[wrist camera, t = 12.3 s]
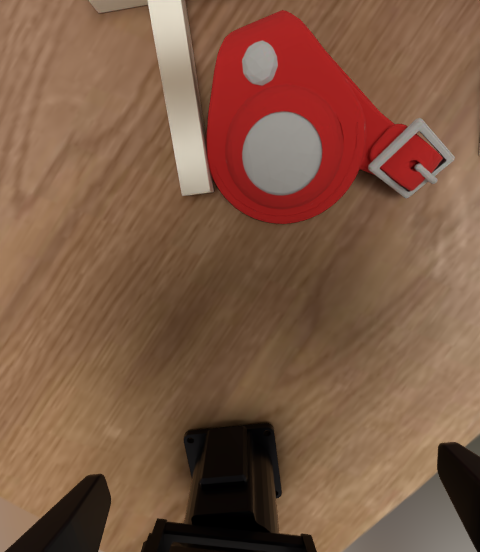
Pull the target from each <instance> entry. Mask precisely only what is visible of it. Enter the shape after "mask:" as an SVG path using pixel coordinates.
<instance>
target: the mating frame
mask: <svg viewBox="0 0 480 552" xmlns="http://www.w3.org/2000/svg"><path fill="white" fill-rule="evenodd" d="M88 1H89V2H90V3H91V4H92V5H93V7H94V8H95V9H96V10H97V12H98V13H104V12H110V11H115V10H121V9H127V8H133V7H138V6H144V5H148V6H149V12H150V17H151V23H152V29H153V34H154V40H155V46H156V51H157V57H158V63H159V68H160V74H161V80H162V85H163V91H164V97H165V102H166V108H167V114H168V119H169V125H170V131H171V136H172V142H173V148H174V153H175V159H176V165H177V170H178V176H179V182H180V187H181V193H182V196H187V195H195V194H203V193H210V192H214V188H213V181H212V175H211V172H210V169H209V165H208V159H207V141H206V135H205V128H204V121H203V114H202V108H201V101H200V94H199V88H198V81H197V74H196V68H195V61H194V54H193V48H192V41H191V34H190V27H189V21H188V14H187V7H186V1H185V0H88ZM479 155H480V145H479Z"/></svg>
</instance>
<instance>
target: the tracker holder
mask: <svg viewBox="0 0 480 552" xmlns="http://www.w3.org/2000/svg"><path fill="white" fill-rule="evenodd" d="M418 131H420V132H421V133H422V134H423V135H424V137H425V138H426V139H427V140H428V141H429V142H430V143H431V144H432V145H433V146H434V148H435V149H436V150H437V151H438V152H439V153H440V154H441V155H440V154H439V153H438V152H437V151H436V150H435V149H433V148H432V147H431V146H430V145H429V144H428V143H427V142H425V141H424V140H423V139H422V138H421V137H419V136H418V135H417V134H416V133H417V132H418ZM207 159H208V165H209V169H210V172H211V175H212V178H213V180H214V182H215V183H216V185H217V187H218V188H219V190H220V192H221V193H222V194H223V196H224V197H225V198H226V199H227V200H228V201H229V202H230V203H231V204H232V205H233V206H234V207H235V208H237V209H238V210H240V211H241V212H243V213H244V214H246V215H248V216H250V217H252V218H254V219H257V220H261V221H265V222H269V223H277V224H287V223H295V222H300V221H303V220H307V219H309V218H312V217H314V216H316V215H319V214H320V213H322V212H324V211H325V210H327V209H328V208H329V207H331V206H332V205H333V204H335V203H336V202H337V201H338V200H339V199H340V198H341V197H342V196H343V195H344V194H345V192H346V191H347V190H348V189H349V187H350V186H351V184H352V183H353V181H354V179H355V177H356V175H357V173H358V171H359V170H363V171H366V172H368V173H371V174H373V175H376V176H377V177H379V178H380V179H381V180H383V181H384V182H385V183H386V184H388V185H389V186H390V187H392V188H393V189H394V190H395V191H397V192H398V193H399V194H401V195H402V196H403V197H404V198H409V197H410V196H411V195H412V194H414V193H415V192H416V191H417V190H418V189H420V188H421V187H422V186H423V185H424V184H426V183H427V182H428V181H429V182H430V183H431V184H434V183H436V182H437V178H436V177H435V175H437V174H438V173H439V172H440V171H441V170H443V169H444V168H445V167H446V166H448V165H449V164H450V163H451V162H452V161H454V159H455V157H454V156H453V154H452V153H451V152H450V151H449V150H448V149H447V147H446V146H445V145H444V144H443V143H442V142H441V140H440V139H439V138H438V137H437V136H436V135H435V133H434V132H433V131H432V130H431V129H430V128H429V126H428V125H427V124H426V123H425V122H424V121H423V120H422V119H421V118H418V119H415V120H414V121H413V122H412V123H411V124H410V125H409V126H408V127H407V126H406V125H403V124H394V123H392V122H391V121H390V120H389V119H388V118H386V117H385V116H384V115H383V114H382V113H380V111H379V110H378V109H377V108H376V107H375V106H374V105H373V104H372V102H371V101H370V100H369V99H368V98H367V97H366V96H365V95H364V93H363V92H362V91H361V90H360V89H359V88H358V87H357V86H356V84H355V83H354V82H353V81H352V80H351V79H350V78H349V77H348V76H347V74H346V73H345V72H344V71H343V70H342V69H341V68H340V67H339V65H338V64H337V63H336V62H335V61H334V60H333V59H332V58H331V56H330V55H329V54H328V53H327V52H326V51H325V49H324V48H323V47H322V46H321V44H320V43H319V42H318V40H317V39H316V38H315V36H314V35H313V34H312V32H311V31H310V30H309V29H308V28H307V27H306V25H305V24H304V23H303V22H302V21H301V20H300V19H299V18H297V17H295V16H294V15H293V14H291V13H289V12H287V11H284V10H281V11H279V12H277V13H274V14H272V15H270V16H267V17H265V18H263V19H260V20H258V21H256V22H253V23H251V24H248V25H246V26H244V27H241V28H239V29H237V30H235V31H233V32H231V33H230V34H229V35H227V36H226V37H225V39H224V41H223V43H222V45H221V47H220V49H219V52H218V56H217V60H216V65H215V70H214V77H213V84H212V91H211V98H210V105H209V112H208V125H207ZM403 186H404V187H403Z"/></svg>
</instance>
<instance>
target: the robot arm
mask: <svg viewBox="0 0 480 552" xmlns="http://www.w3.org/2000/svg"><path fill="white" fill-rule="evenodd" d="M266 430H269V432H265V431H266ZM190 438H193V439H190ZM184 445H185V449H186V454H187V458H188V463H189V467H190V472H191V476H192V483H191V488H190V494H189V499H188V504H187V510H186V515H185V520H184V523H175V522H167V520H166V519H157V521H156V523H155V526H154V529H153V532H152V533H149V536H148V538H147V541H145V542H144V543H143V546H142V550H141V552H317V551H316V548H315V545H314V542H313V539H312V536H311V535H308V534H301V536H298V535H289V534H279V525H278V515H277V505H276V498H279V497H280V496H281V494H282V491H281V483H280V475H279V467H278V459H277V451H276V443H275V435H274V428H273V426H272V425H271V424H269V423H264V424H253V425H243V426H232V427H222V428H212V429H201V430H191V431H188V432H186V434H185V436H184ZM437 470H438V474H439V477H440V479H441V481H442V483H443V485H444V487H445V489H446V491H447V493H448V495H449V497H450V499H451V501H452V503H453V505H454V507H455V509H456V511H457V513H458V515H459V517H460V519H461V521H462V523H463V525H464V527H465V529H466V531H467V533H468V535H469V537H470V539H471V541H472V543H473V545H474V547H475V548H476V550H477V552H480V456H478V455H476V454H475V453H473V452H472V451H470V450H468V449H467V448H465V447H464V446H462V445H460V444H459V443H456V442H448V443H441V444H439V446H438V459H437ZM110 505H111V495H110V492H109V489H108V486H107V483H106V479H105V477H104V475H103V474H93V475H88V476H86V477H85V478H84V479H83V480H82V481H81V482H79V483H78V484H77V485H76V486H75V487H74V488H73V489H72V490H71V491H70V492H69V493H68V494H67V495H65V496H64V497H63V498H62V499H61V500H60V501H59V502H58V503H57V504H56V505H55V506H54V507H52V508H51V509H50V510H49V511H48V512H47V513H46V514H45V515H44V516H43V517H42V518H41V519H39V520H38V521H37V522H36V523H35V524H34V525H33V526H32V527H31V528H30V529H29V530H28V531H27V532H25V533H24V534H23V535H22V536H21V537H20V538H19V539H18V540H17V541H16V542H15V543H14V544H13V545H11V546H10V547H9V548H8V549H7V550H6V551H5V552H98V550H99V546H100V543H101V539H102V535H103V532H104V528H105V524H106V520H107V517H108V513H109V509H110Z"/></svg>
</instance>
